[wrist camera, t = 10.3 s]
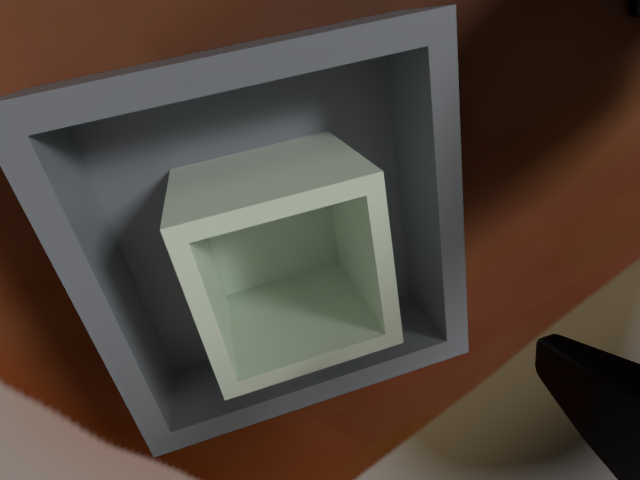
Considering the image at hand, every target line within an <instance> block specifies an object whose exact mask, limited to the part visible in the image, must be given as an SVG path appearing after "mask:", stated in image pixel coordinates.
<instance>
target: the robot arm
mask: <svg viewBox="0 0 640 480" xmlns="http://www.w3.org/2000/svg"><path fill="white" fill-rule="evenodd" d="M628 9H629V13H630V15H631V16H632V17H640V0H629V6H628ZM535 367H536V371H537V374H538V376H539V377H540V379H541V380H542V382H543V383H544V385H545V386H546V387H547V389H548V390H549V392H550V393H551V395H552V396H553V397H554V399H555V400H556V402H557V403H558V404H559V406H560V407H561V409H562V410H563V412H564V413H565V414H566V416H567V417H568V419H569V420H570V421H571V423H572V424H573V426H574V427H575V429H576V430H577V431H578V432H579V434H580V435H581V437H582V438H583V439H584V440H585V441H586V443H587V444H588V445H589V446H590V447H591V449H592V450H593V451H594V452H595V453H596V455H597V456H598V457H599V458H600V459H601V460H602V461H603V463H604V464H605V465H606V466H607V467H608V468H609V470H610V471H611V472H612V473H613V474H614V476H615V477H616V478H617V479H618V480H640V364H638V363H636V362H633V361H630V360H627V359H625V358H622V357H619V356H616V355H614V354H611V353H608V352H605V351H602V350H600V349H597V348H594V347H591V346H589V345H585V344H583V343H580V342H578V341H575V340H572V339H569V338H566V337H563V336H561V335H558V334H552V335H549V336H545V337H543V338H540V339H538V341H537V344H536V361H535Z"/></svg>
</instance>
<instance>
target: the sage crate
mask: <svg viewBox="0 0 640 480" xmlns="http://www.w3.org/2000/svg"><path fill="white" fill-rule="evenodd" d="M160 232H161V235H162V237H163V240H164V242H165V245H166V248H167V250H168V253H169V255H170V258H171V261H172V263H173V266H174V269H175V271H176V274H177V276H178V279H179V282H180V284H181V287H182V290H183V292H184V295H185V297H186V300H187V303H188V305H189V308H190V311H191V313H192V316H193V318H194V321H195V324H196V326H197V329H198V332H199V334H200V337H201V339H202V342H203V345H204V347H205V350H206V353H207V355H208V358H209V360H210V363H211V366H212V368H213V371H214V374H215V376H216V379H217V381H218V384H219V387H220V389H221V392H222V395H223V397H224V400H228V399H231V398H234V397H238V396H241V395H244V394H247V393H250V392H253V391H256V390H259V389H262V388H265V387H268V386H272V385H275V384H278V383H281V382H284V381H287V380H290V379H293V378H296V377H299V376H302V375H305V374H309V373H312V372H315V371H318V370H321V369H324V368H327V367H330V366H333V365H336V364H339V363H343V362H346V361H349V360H352V359H355V358H358V357H361V356H364V355H367V354H370V353H373V352H377V351H380V350H383V349H386V348H389V347H392V346H395V345H398V344H401V343H404V341H403V333H402V324H401V316H400V307H399V299H398V291H397V282H396V274H395V265H394V257H393V248H392V240H391V232H390V223H389V215H388V206H387V198H386V189H385V181H384V173H383V171H382V170H381V169H380V168H378V167H377V166H376V165H374V164H373V163H372V162H370V161H369V160H367V159H366V158H365V157H363V156H362V155H361V154H359V153H358V152H356V151H355V150H354V149H352V148H351V147H350V146H348V145H347V144H346V143H344V142H343V141H341V140H340V139H339V138H337V137H336V136H335V135H333V134H332V133H330V132H329V131H326V132H322V133H318V134H314V135H310V136H305V137H301V138H297V139H293V140H289V141H285V142H281V143H277V144H273V145H269V146H264V147H260V148H256V149H252V150H248V151H244V152H240V153H236V154H232V155H227V156H223V157H219V158H215V159H211V160H207V161H203V162H199V163H195V164H190V165H186V166H182V167H178V168H174V169H170V173H169V178H168V184H167V190H166V196H165V202H164V208H163V213H162V219H161V225H160Z"/></svg>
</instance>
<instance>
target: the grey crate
mask: <svg viewBox="0 0 640 480" xmlns="http://www.w3.org/2000/svg"><path fill="white" fill-rule="evenodd" d="M326 131H329V132H330V133H332V134H333V135H335V136H336V137H337V138H339V139H340V140H341V141H343V142H344V143H346V144H347V145H348V146H350V147H351V148H352V149H354V150H355V151H356V152H358V153H359V154H361V155H362V156H363V157H365V158H366V159H367V160H369V161H370V162H372V163H373V164H374V165H376V166H377V167H378V168H380V169H381V170H382V171H383V173H384V181H385V189H386V198H387V206H388V215H389V223H390V232H391V240H392V248H393V257H394V265H395V274H396V282H397V291H398V299H399V307H400V316H401V324H402V333H403V341H404V343H401V344H398V345H395V346H392V347H389V348H386V349H383V350H380V351H377V352H373V353H370V354H367V355H364V356H361V357H358V358H355V359H352V360H349V361H346V362H343V363H339V364H336V365H333V366H330V367H327V368H324V369H321V370H318V371H315V372H312V373H309V374H305V375H302V376H299V377H296V378H293V379H290V380H287V381H284V382H281V383H278V384H275V385H272V386H268V387H265V388H262V389H259V390H256V391H253V392H250V393H247V394H244V395H241V396H238V397H234V398H231V399H228V400H224V397H223V395H222V392H221V389H220V387H219V384H218V381H217V379H216V376H215V374H214V371H213V368H212V366H211V363H210V360H209V358H208V355H207V353H206V350H205V347H204V345H203V342H202V339H201V337H200V334H199V332H198V329H197V326H196V324H195V321H194V318H193V316H192V313H191V311H190V308H189V305H188V303H187V300H186V297H185V295H184V292H183V290H182V287H181V284H180V282H179V279H178V276H177V274H176V271H175V269H174V266H173V263H172V261H171V258H170V255H169V253H168V250H167V248H166V245H165V242H164V240H163V237H162V235H161V232H160V225H161V219H162V213H163V208H164V202H165V196H166V190H167V184H168V178H169V173H170V169H174V168H178V167H182V166H186V165H190V164H195V163H199V162H203V161H207V160H211V159H215V158H219V157H223V156H227V155H232V154H236V153H240V152H244V151H248V150H252V149H256V148H260V147H264V146H269V145H273V144H277V143H281V142H285V141H289V140H293V139H297V138H301V137H305V136H310V135H314V134H318V133H322V132H326ZM0 166H1V168H2V170H3V172H4V174H5V176H6V178H7V180H8V182H9V183H10V185H11V187H12V189H13V191H14V193H15V195H16V197H17V199H18V201H19V202H20V204H21V206H22V208H23V210H24V212H25V214H26V216H27V218H28V220H29V221H30V223H31V225H32V227H33V229H34V231H35V233H36V235H37V237H38V238H39V240H40V242H41V244H42V246H43V248H44V250H45V252H46V254H47V256H48V257H49V259H50V261H51V263H52V265H53V267H54V269H55V271H56V273H57V275H58V276H59V278H60V280H61V282H62V284H63V286H64V288H65V290H66V292H67V294H68V295H69V297H70V299H71V301H72V303H73V305H74V307H75V309H76V311H77V313H78V314H79V316H80V318H81V320H82V322H83V324H84V326H85V328H86V330H87V331H88V333H89V335H90V337H91V339H92V341H93V343H94V345H95V347H96V349H97V350H98V352H99V354H100V356H101V358H102V360H103V362H104V364H105V366H106V368H107V369H108V371H109V373H110V375H111V377H112V379H113V381H114V383H115V385H116V387H117V388H118V390H119V392H120V394H121V396H122V398H123V400H124V402H125V404H126V406H127V407H128V409H129V411H130V413H131V415H132V417H133V419H134V421H135V423H136V424H137V426H138V428H139V430H140V432H141V434H142V436H143V438H144V440H145V442H146V443H147V445H148V447H149V449H150V451H151V453H152V455H153V457H157V456H160V455H163V454H166V453H169V452H172V451H175V450H178V449H181V448H184V447H187V446H190V445H193V444H196V443H199V442H202V441H205V440H208V439H211V438H214V437H217V436H220V435H223V434H226V433H229V432H232V431H235V430H238V429H241V428H244V427H247V426H250V425H252V424H255V423H258V422H261V421H264V420H267V419H270V418H273V417H276V416H279V415H282V414H285V413H288V412H291V411H294V410H297V409H300V408H303V407H306V406H309V405H312V404H315V403H318V402H321V401H324V400H327V399H330V398H333V397H336V396H339V395H342V394H345V393H348V392H351V391H354V390H357V389H360V388H363V387H366V386H369V385H372V384H375V383H378V382H380V381H383V380H386V379H389V378H392V377H395V376H398V375H401V374H404V373H407V372H410V371H413V370H416V369H419V368H422V367H425V366H428V365H431V364H434V363H437V362H440V361H443V360H446V359H449V358H452V357H455V356H458V355H461V354H464V353H467V352H469V350H468V322H467V295H466V267H465V240H464V212H463V185H462V158H461V130H460V103H459V75H458V48H457V20H456V4H454V5H445V6H435V7H426V8H417V9H407V10H398V11H393V12H388V13H383V14H379V15H374V16H369V17H364V18H360V19H355V20H350V21H345V22H341V23H336V24H331V25H326V26H322V27H317V28H312V29H307V30H302V31H298V32H293V33H288V34H283V35H279V36H274V37H269V38H264V39H260V40H255V41H250V42H245V43H240V44H236V45H231V46H226V47H221V48H217V49H212V50H207V51H202V52H198V53H193V54H188V55H183V56H179V57H174V58H169V59H164V60H159V61H155V62H150V63H145V64H140V65H136V66H131V67H126V68H121V69H117V70H112V71H107V72H102V73H98V74H93V75H88V76H83V77H78V78H74V79H69V80H64V81H59V82H55V83H50V84H45V85H40V86H36V87H31V88H26V89H23V90H20V91H17V92H14V93H11V94H8V95H5V96H2V97H0Z"/></svg>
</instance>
